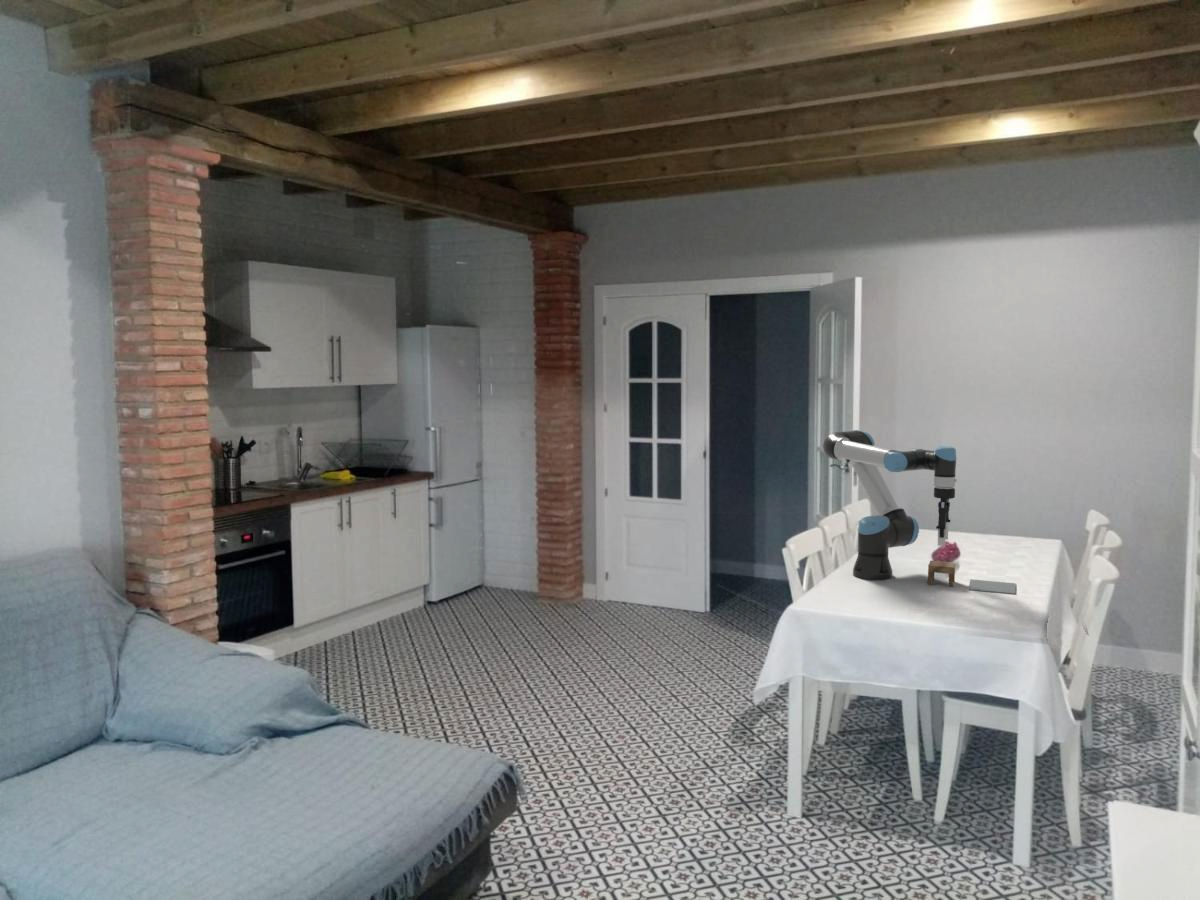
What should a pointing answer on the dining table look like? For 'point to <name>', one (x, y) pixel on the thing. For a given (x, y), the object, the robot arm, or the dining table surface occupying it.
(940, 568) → the wooden stool
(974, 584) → the mat
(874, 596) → the dining table surface
